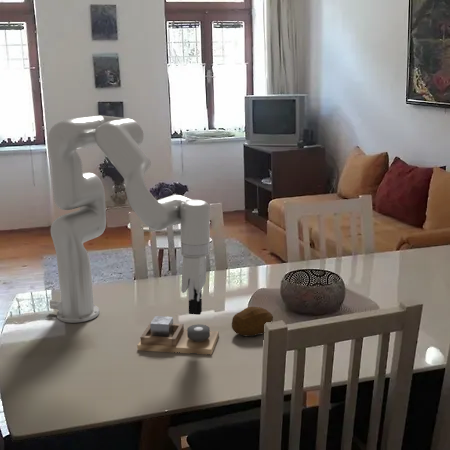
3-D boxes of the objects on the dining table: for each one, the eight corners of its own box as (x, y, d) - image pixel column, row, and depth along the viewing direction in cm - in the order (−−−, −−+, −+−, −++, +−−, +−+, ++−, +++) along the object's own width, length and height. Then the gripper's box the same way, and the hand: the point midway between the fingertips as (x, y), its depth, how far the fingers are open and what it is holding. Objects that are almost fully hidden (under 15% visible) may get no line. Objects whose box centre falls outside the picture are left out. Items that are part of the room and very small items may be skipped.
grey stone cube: (151, 340, 165) (150, 323, 164) (156, 332, 170) (155, 316, 169) (169, 341, 165) (168, 324, 163) (173, 333, 169) (172, 316, 168)
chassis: (137, 350, 163) (136, 338, 162) (149, 332, 174) (148, 321, 173) (211, 354, 160) (211, 342, 159) (218, 336, 171) (218, 324, 170)
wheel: (185, 340, 163) (185, 333, 162) (190, 330, 169) (189, 323, 168) (207, 341, 162) (207, 334, 162) (211, 331, 168) (211, 324, 167)
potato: (226, 332, 173) (225, 307, 171) (263, 323, 179) (263, 298, 177) (241, 343, 166) (240, 317, 164) (279, 333, 172) (279, 307, 170)
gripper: (187, 238, 167) (187, 301, 172) (174, 256, 153) (174, 323, 158) (214, 240, 166) (214, 303, 171) (203, 258, 151) (203, 326, 156)
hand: (195, 313), depth 164 cm, fingers closed
